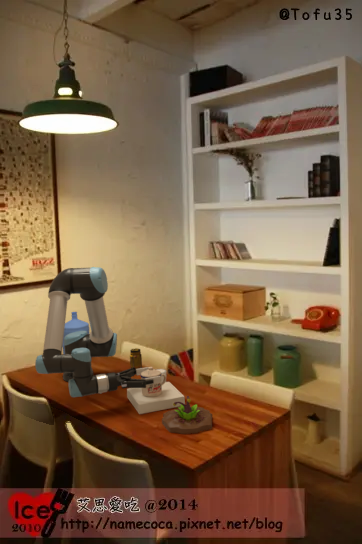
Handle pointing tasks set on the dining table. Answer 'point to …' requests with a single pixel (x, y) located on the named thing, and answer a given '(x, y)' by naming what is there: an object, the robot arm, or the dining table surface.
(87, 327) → the water jug
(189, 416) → the plant
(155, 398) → the plinth
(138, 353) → the condiment
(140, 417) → the dining table surface
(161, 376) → the white cup
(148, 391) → the teacup with lid
